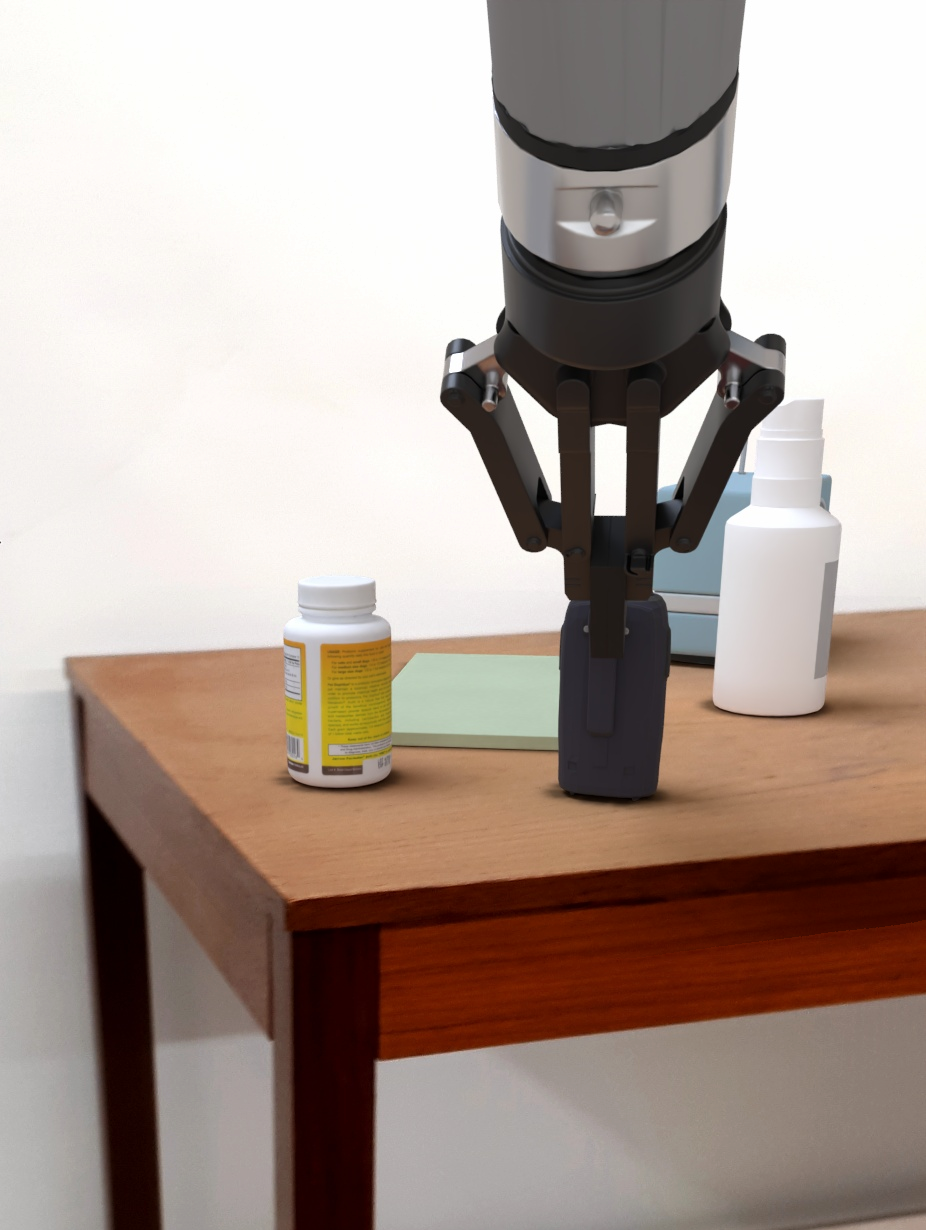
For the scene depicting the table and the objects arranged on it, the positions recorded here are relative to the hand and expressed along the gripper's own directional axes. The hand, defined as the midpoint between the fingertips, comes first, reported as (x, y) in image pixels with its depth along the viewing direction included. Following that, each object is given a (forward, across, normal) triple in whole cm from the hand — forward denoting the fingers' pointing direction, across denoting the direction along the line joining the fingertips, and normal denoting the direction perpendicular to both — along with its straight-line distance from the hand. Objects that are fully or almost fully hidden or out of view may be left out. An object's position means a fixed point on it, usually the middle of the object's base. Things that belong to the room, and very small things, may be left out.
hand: (608, 633), depth 77 cm
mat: (+26, -7, +13) cm, 30 cm away
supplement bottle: (+11, -14, -2) cm, 18 cm away
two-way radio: (+10, 0, -3) cm, 10 cm away
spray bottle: (+27, +9, +14) cm, 31 cm away
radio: (+41, +8, +28) cm, 50 cm away
